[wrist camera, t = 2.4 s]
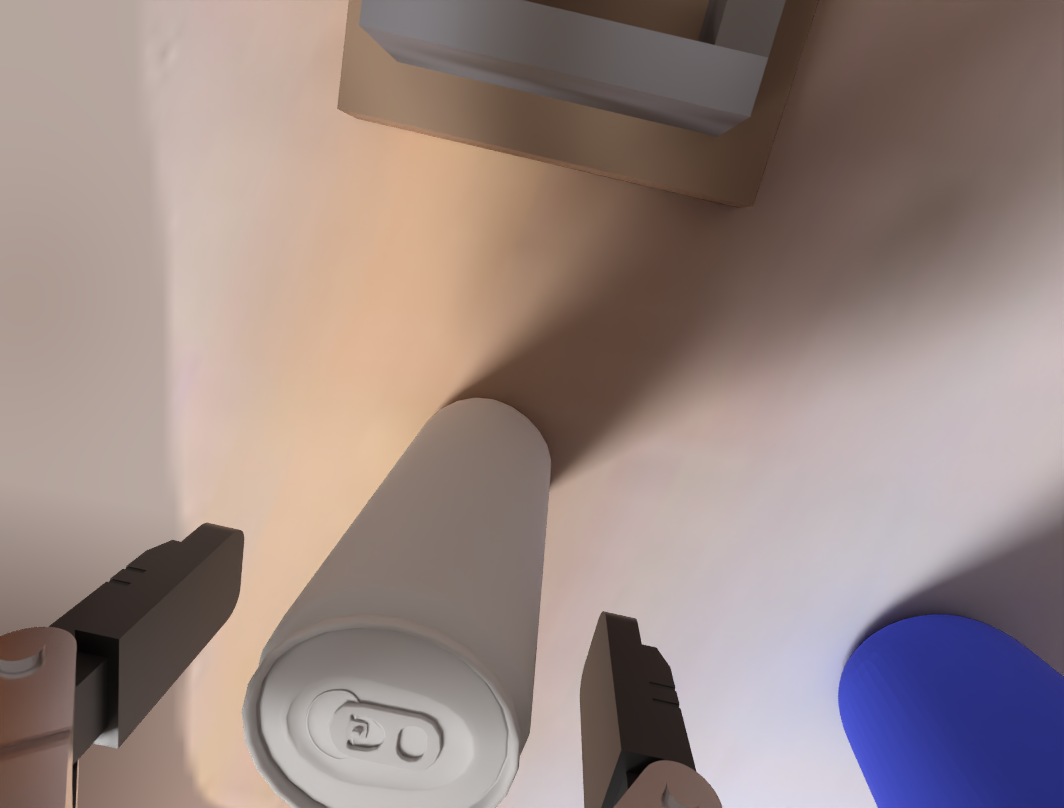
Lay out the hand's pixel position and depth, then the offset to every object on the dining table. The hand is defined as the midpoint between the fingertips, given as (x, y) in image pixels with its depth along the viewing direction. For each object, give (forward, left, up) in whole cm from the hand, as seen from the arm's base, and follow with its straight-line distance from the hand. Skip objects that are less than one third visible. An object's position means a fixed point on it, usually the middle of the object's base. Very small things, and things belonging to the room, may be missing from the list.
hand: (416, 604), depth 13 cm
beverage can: (0, 0, -9) cm, 9 cm away
